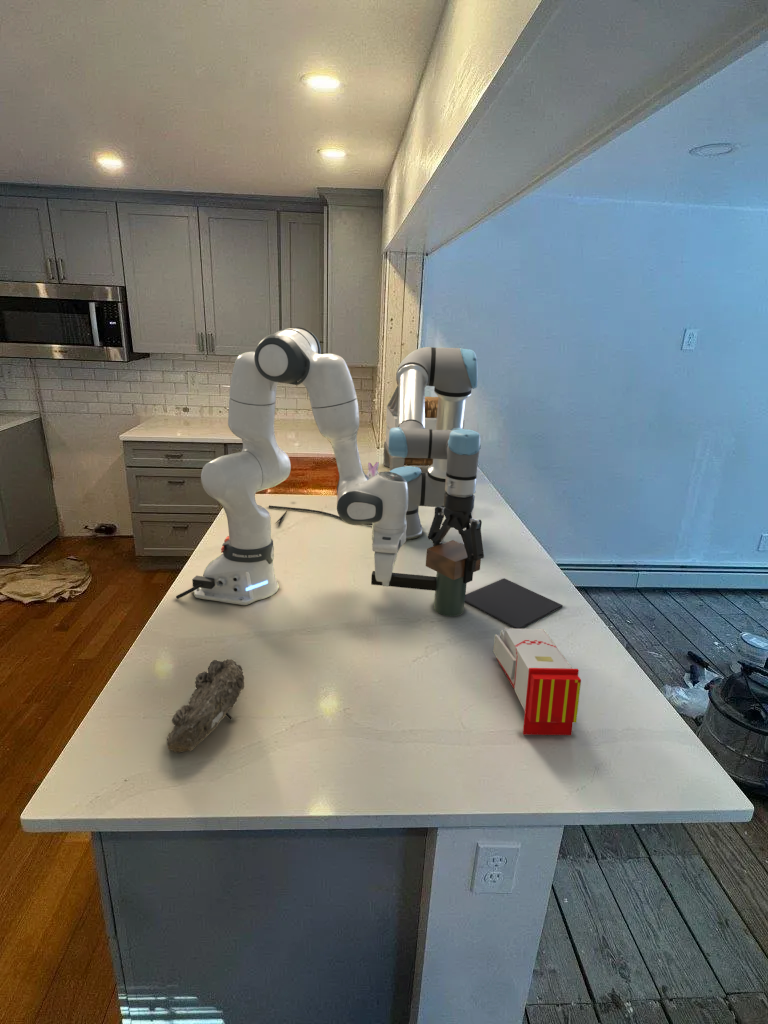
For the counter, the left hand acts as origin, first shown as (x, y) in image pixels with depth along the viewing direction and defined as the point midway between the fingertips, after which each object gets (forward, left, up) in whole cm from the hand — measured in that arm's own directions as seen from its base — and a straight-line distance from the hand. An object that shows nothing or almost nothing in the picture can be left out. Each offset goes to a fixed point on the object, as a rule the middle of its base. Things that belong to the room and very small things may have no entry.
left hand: (386, 582), depth 151 cm
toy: (+31, -35, -6) cm, 47 cm away
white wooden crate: (+14, +130, -6) cm, 131 cm away
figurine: (-7, +89, -6) cm, 89 cm away
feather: (-39, +63, -6) cm, 75 cm away
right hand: (+17, -2, +4) cm, 18 cm away
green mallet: (+9, -1, -6) cm, 10 cm away
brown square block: (+17, -2, +6) cm, 18 cm away
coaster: (+34, +3, -6) cm, 35 cm away
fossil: (-32, -48, -6) cm, 58 cm away
